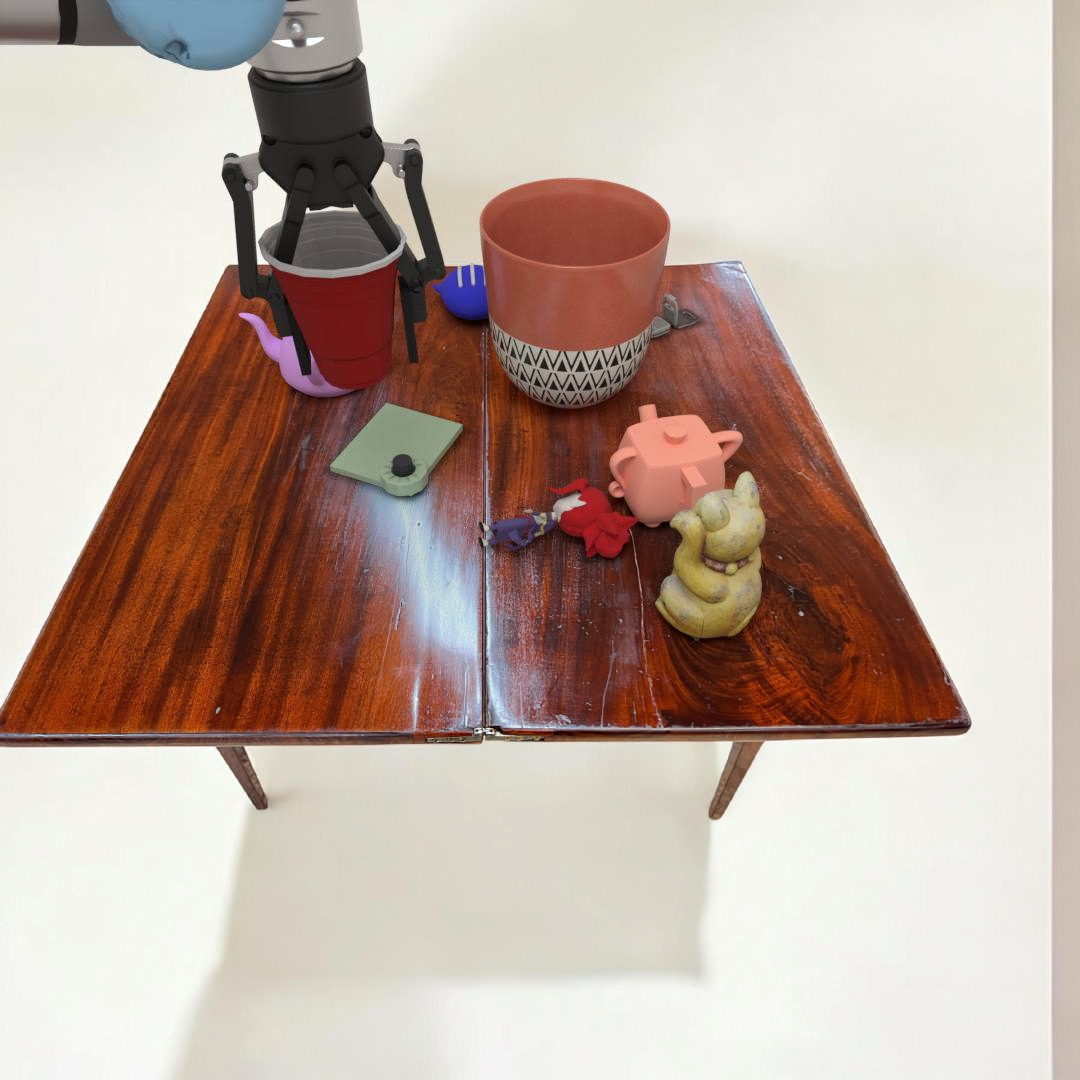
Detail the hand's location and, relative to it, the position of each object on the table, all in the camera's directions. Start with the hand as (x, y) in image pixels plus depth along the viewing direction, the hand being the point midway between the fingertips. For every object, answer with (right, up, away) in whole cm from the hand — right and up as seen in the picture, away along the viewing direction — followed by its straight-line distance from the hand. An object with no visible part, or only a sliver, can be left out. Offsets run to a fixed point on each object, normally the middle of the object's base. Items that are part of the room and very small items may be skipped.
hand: (360, 359), depth 71 cm
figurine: (+17, -16, +14) cm, 27 cm away
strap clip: (+32, +13, +41) cm, 54 cm away
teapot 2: (+28, -11, +19) cm, 36 cm away
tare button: (+1, -8, +18) cm, 20 cm away
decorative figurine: (+31, -22, +8) cm, 39 cm away
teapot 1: (-11, +5, +34) cm, 36 cm away
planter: (+18, +3, +32) cm, 37 cm away
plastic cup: (0, -1, +1) cm, 1 cm away
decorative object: (+6, +16, +44) cm, 47 cm away
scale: (-1, -5, +24) cm, 24 cm away
